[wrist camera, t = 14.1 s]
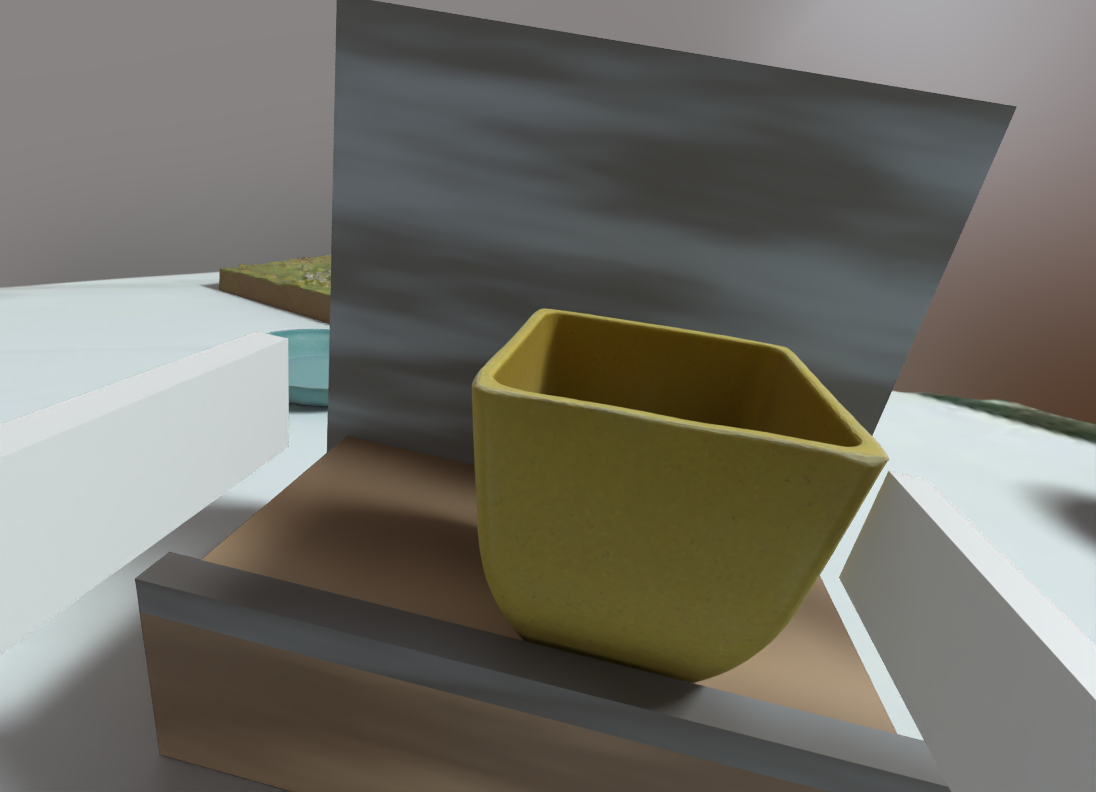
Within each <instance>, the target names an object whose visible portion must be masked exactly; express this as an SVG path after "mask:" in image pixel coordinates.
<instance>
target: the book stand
mask: <svg viewBox="0 0 1096 792" xmlns="http://www.w3.org/2000/svg"><path fill="white" fill-rule="evenodd" d="M336 16H337V19H336V61H335V62H336V63H335V108H334V153H333V154H334V155H333V201H332V245H331V291H330V337H329V383H328V428H327V453H326V454H325V455H324V456H323V457H321V458H320V459H319V460H318V461H317V462H316V463H314V464H313V465H312V466H311V467H310V468H309V469H307V470H306V471H305V472H304V473H303V474H302V475H300V476H299V477H298V478H297V479H296V480H294V481H293V482H292V483H291V484H290V485H289V486H287V487H286V488H285V489H284V490H283V491H282V492H280V493H279V494H278V495H277V496H276V497H274V498H273V499H272V500H271V501H270V502H269V503H267V504H266V505H265V506H264V507H263V508H262V509H260V510H259V511H258V512H257V513H256V514H255V515H253V516H252V517H251V518H250V519H249V520H247V521H246V522H245V523H244V524H243V525H242V526H240V527H239V528H238V529H237V530H236V531H235V532H233V533H232V534H231V535H230V536H229V537H227V538H226V539H225V540H224V541H223V542H222V543H220V544H219V545H218V546H217V547H216V548H215V549H213V550H212V551H211V552H210V553H209V554H208V555H206V556H205V557H204V558H203V559H202V560H200V559H196V558H192V557H188V556H184V555H180V554H176V553H172V552H169V553H167V554H166V555H165V556H164V557H162V558H161V559H160V560H158V561H157V562H156V563H155V564H153V565H152V566H151V567H149V568H148V569H147V570H146V571H144V572H143V573H142V574H140V575H139V576H138V577H137V578H135V582H136V590H137V597H138V604H139V611H140V618H141V625H142V632H143V639H144V646H145V653H146V660H147V667H148V675H149V682H150V689H151V696H152V703H153V710H154V717H155V724H156V731H157V738H158V745H159V753H160V755H164V756H167V757H171V758H174V759H178V760H181V761H185V762H189V763H192V764H196V765H199V766H203V767H206V768H210V769H213V770H217V771H221V772H224V773H228V774H231V775H235V776H238V777H242V778H246V779H249V780H253V781H256V782H260V783H263V784H267V785H270V786H274V787H278V788H281V789H285V790H288V791H292V792H951V791H950V789H949V787H948V785H947V783H946V781H945V779H944V777H943V775H942V774H941V772H940V770H939V768H938V766H937V764H936V762H935V760H934V758H933V756H932V754H931V752H930V751H929V749H928V747H927V745H926V743H925V741H922V740H918V739H914V738H910V737H906V736H902V735H898V734H897V733H896V731H895V729H894V727H893V725H892V723H891V720H890V718H889V716H888V714H887V712H886V710H885V708H884V706H883V704H882V702H881V700H880V698H879V696H878V694H877V692H876V690H875V688H874V686H873V684H872V682H871V679H870V677H869V675H868V673H867V671H866V669H865V667H864V665H863V663H862V661H861V659H860V657H859V655H858V653H857V651H856V649H855V647H854V645H853V643H852V641H851V639H850V636H849V634H848V632H847V630H846V628H845V626H844V624H843V622H842V620H841V618H840V616H839V614H838V612H837V610H836V608H835V606H834V604H833V602H832V600H831V598H830V595H829V593H828V591H827V589H826V587H825V585H824V583H823V581H822V579H821V577H820V575H819V577H818V579H817V580H816V582H815V584H814V585H813V587H812V589H811V590H810V592H809V594H808V595H807V597H806V598H805V600H804V602H803V603H802V605H801V606H800V608H799V609H798V611H797V613H796V614H795V615H794V617H793V618H792V619H791V620H790V622H789V623H788V624H787V626H786V627H785V628H784V629H783V630H782V631H781V632H780V634H779V635H778V636H777V637H776V638H775V639H774V640H773V641H772V642H771V643H770V644H769V645H767V646H766V647H765V648H764V649H762V650H761V651H760V652H758V653H757V654H756V655H754V656H753V657H752V658H750V659H749V660H747V661H746V662H744V663H742V664H740V665H739V666H737V667H735V668H733V669H731V670H729V671H727V672H725V673H723V674H720V675H717V676H715V677H712V678H709V679H706V680H703V681H699V682H696V683H691V682H687V681H683V680H679V679H675V678H671V677H667V676H663V675H659V674H655V673H651V672H647V671H643V670H639V669H635V668H631V667H627V666H623V665H619V664H615V663H611V662H607V661H603V660H599V659H595V658H591V657H587V656H583V655H579V654H575V653H571V652H567V651H563V650H559V649H555V648H551V647H547V646H543V645H539V644H535V643H531V642H527V641H524V640H523V639H522V638H521V637H520V636H519V635H518V634H517V632H516V631H515V630H514V629H513V628H512V626H511V625H510V624H509V622H508V621H507V620H506V619H505V617H504V616H503V614H502V612H501V610H500V609H499V607H498V605H497V604H496V601H495V599H494V597H493V595H492V593H491V590H490V588H489V585H488V583H487V580H486V577H485V573H484V569H483V565H482V560H481V555H480V548H479V538H478V528H477V505H476V483H475V461H474V439H473V410H472V383H473V380H474V378H475V377H476V375H477V373H478V372H479V370H480V369H481V368H482V367H483V366H485V364H486V363H487V362H488V361H489V360H490V359H491V358H492V357H493V356H494V355H495V354H496V353H497V352H498V351H499V350H500V349H501V348H502V347H503V346H504V345H505V344H506V343H507V342H508V341H509V340H510V339H511V338H512V337H513V336H514V335H515V334H516V333H517V332H518V331H519V329H520V328H521V327H522V326H523V325H524V324H525V323H526V322H527V320H528V319H529V318H530V317H531V316H532V315H533V314H534V313H535V312H536V311H538V310H539V309H543V308H545V309H554V310H562V311H569V312H577V313H584V314H591V315H597V316H603V317H610V318H616V319H623V320H629V321H636V322H642V323H648V324H655V325H662V326H669V327H676V328H681V329H687V330H694V331H700V332H706V333H712V334H718V335H725V336H731V337H736V338H741V339H746V340H752V341H757V342H763V343H768V344H773V345H778V346H783V347H787V348H788V349H790V350H791V351H792V352H793V353H794V354H795V355H796V356H797V357H798V358H799V359H800V360H801V361H802V362H803V363H804V364H805V365H806V367H807V368H808V369H809V370H810V371H811V372H812V373H813V374H814V375H815V376H816V377H817V378H818V380H819V381H820V382H821V383H822V384H823V385H824V386H825V388H826V389H827V390H828V391H829V392H830V393H831V394H832V395H833V396H834V397H835V398H836V399H837V401H838V402H839V403H840V404H841V405H842V406H843V407H844V408H845V409H846V410H847V411H848V412H849V413H850V414H851V415H852V416H853V417H854V418H855V419H856V420H857V421H858V423H859V424H860V425H861V426H862V427H863V428H865V429H866V431H867V432H868V433H869V434H870V435H871V436H872V435H873V433H874V431H875V428H876V426H877V424H878V421H879V419H880V417H881V415H882V412H883V410H884V408H885V405H886V403H887V401H888V399H889V396H890V394H891V392H892V390H893V387H894V385H895V383H896V380H897V378H898V376H899V374H900V371H901V369H902V367H903V364H904V362H905V360H906V358H907V355H908V353H909V351H910V348H911V346H912V344H913V342H914V339H915V337H916V335H917V333H918V330H919V328H920V326H921V323H922V321H923V319H924V317H925V314H926V312H927V310H928V308H929V305H930V303H931V301H932V298H933V296H934V294H935V292H936V289H937V287H938V285H939V283H940V280H941V278H942V276H943V273H944V271H945V269H946V267H947V264H948V262H949V260H950V257H951V255H952V253H953V250H954V248H955V246H956V244H957V242H958V239H959V237H960V235H961V233H962V230H963V228H964V225H965V223H966V221H967V219H968V217H969V214H970V212H971V210H972V207H973V205H974V203H975V200H976V198H977V196H978V194H979V192H980V189H981V187H982V185H983V182H984V180H985V178H986V175H987V173H988V171H989V169H990V166H991V164H992V162H993V160H994V157H995V155H996V153H997V151H998V148H999V146H1000V144H1001V141H1002V139H1003V137H1004V135H1005V132H1006V130H1007V128H1008V126H1009V123H1010V121H1011V119H1012V116H1013V114H1014V112H1015V110H1016V106H1010V105H1003V104H997V103H991V102H985V101H979V100H973V99H967V98H961V97H955V96H949V95H942V94H937V93H931V92H924V91H919V90H913V89H907V88H900V87H894V86H888V85H882V84H876V83H869V82H864V81H858V80H852V79H846V78H840V77H833V76H828V75H821V74H815V73H809V72H803V71H797V70H791V69H785V68H779V67H773V66H767V65H761V64H755V63H749V62H742V61H737V60H731V59H725V58H718V57H712V56H706V55H700V54H694V53H688V52H682V51H676V50H670V49H664V48H658V47H651V46H645V45H640V44H633V43H627V42H621V41H615V40H609V39H603V38H597V37H591V36H585V35H579V34H573V33H566V32H561V31H555V30H549V29H542V28H536V27H530V26H524V25H518V24H512V23H505V22H500V21H494V20H488V19H482V18H475V17H470V16H463V15H457V14H452V13H445V12H439V11H433V10H427V9H421V8H415V7H409V6H403V5H396V4H391V3H385V2H378V1H372V0H337V15H336Z"/></svg>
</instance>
